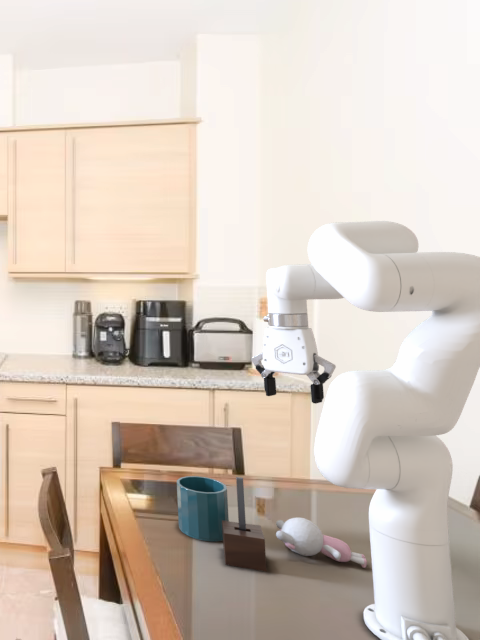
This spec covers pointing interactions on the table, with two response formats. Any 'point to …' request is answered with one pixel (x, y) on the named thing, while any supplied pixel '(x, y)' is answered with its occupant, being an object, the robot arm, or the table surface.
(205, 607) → the table surface
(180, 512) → the teal cylindrical cup
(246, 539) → the utensil block
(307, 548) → the toy
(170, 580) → the table surface
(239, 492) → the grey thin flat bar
